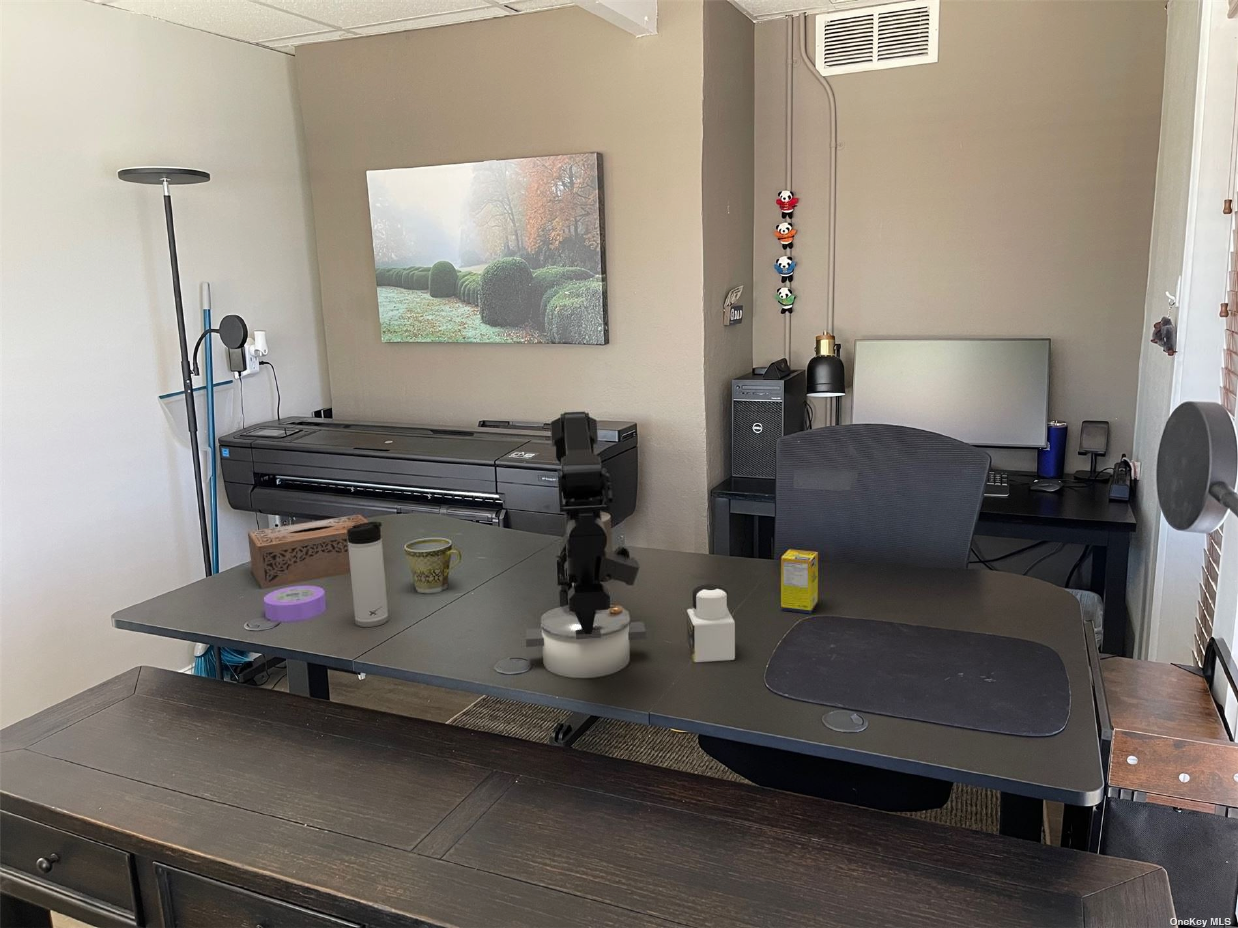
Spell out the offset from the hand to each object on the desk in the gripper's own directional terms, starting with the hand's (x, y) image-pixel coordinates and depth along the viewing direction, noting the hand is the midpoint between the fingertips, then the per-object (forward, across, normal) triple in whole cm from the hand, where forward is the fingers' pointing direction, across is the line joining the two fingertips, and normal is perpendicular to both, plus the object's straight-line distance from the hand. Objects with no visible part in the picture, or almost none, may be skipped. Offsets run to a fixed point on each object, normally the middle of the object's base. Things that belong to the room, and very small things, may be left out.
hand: (588, 633), depth 144 cm
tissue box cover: (+9, +70, +60) cm, 92 cm away
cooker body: (+8, +9, 0) cm, 12 cm away
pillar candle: (+8, +53, -4) cm, 54 cm away
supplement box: (+9, +27, -43) cm, 51 cm away
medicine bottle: (+9, +8, -22) cm, 25 cm away
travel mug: (+8, +34, +40) cm, 53 cm away
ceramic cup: (+8, +51, +30) cm, 59 cm away
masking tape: (+9, +42, +57) cm, 72 cm away
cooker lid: (+2, +8, 0) cm, 8 cm away
